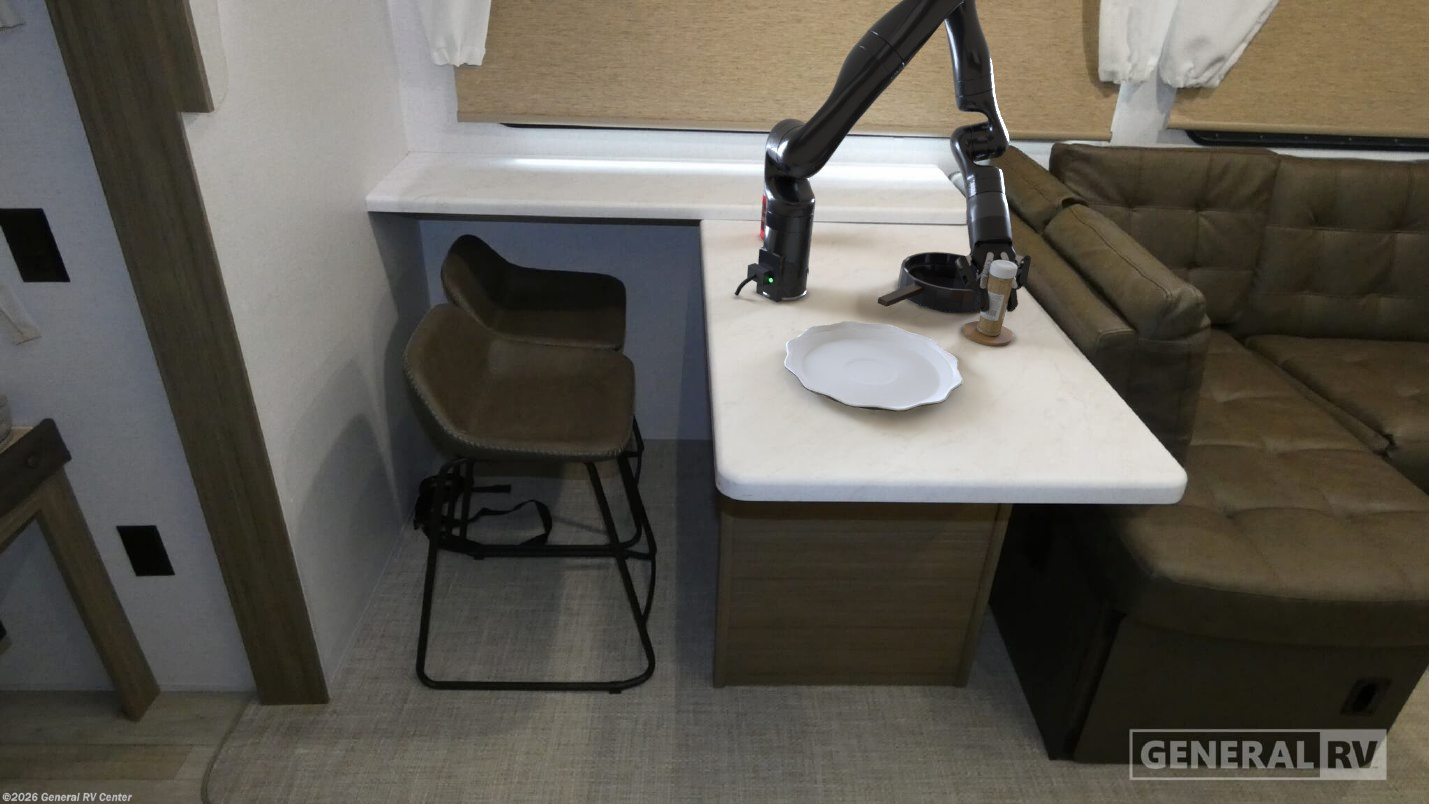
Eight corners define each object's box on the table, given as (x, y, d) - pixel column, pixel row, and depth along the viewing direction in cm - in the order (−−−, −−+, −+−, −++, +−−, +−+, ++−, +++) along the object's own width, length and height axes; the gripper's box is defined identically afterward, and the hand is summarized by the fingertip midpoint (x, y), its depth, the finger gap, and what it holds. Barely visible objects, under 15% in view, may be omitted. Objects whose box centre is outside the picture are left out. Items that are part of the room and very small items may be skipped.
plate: (754, 347, 147) (755, 335, 146) (894, 323, 157) (896, 311, 156) (839, 436, 125) (841, 423, 123) (996, 401, 135) (999, 388, 134)
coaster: (994, 350, 150) (995, 348, 149) (953, 332, 155) (953, 329, 155) (1022, 336, 155) (1022, 334, 155) (980, 319, 160) (981, 316, 160)
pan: (956, 322, 159) (962, 298, 156) (878, 288, 171) (882, 265, 168) (1012, 297, 170) (1018, 274, 167) (935, 266, 182) (939, 245, 179)
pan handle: (913, 288, 164) (914, 283, 163) (922, 292, 162) (923, 287, 161) (877, 303, 157) (878, 297, 157) (886, 307, 156) (887, 301, 155)
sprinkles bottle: (1006, 333, 154) (1023, 266, 147) (989, 339, 152) (1006, 270, 145) (986, 323, 158) (1003, 257, 150) (970, 329, 155) (985, 261, 148)
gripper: (958, 213, 150) (968, 304, 146) (1034, 213, 151) (1046, 303, 147) (943, 231, 157) (952, 317, 153) (1016, 231, 158) (1027, 317, 155)
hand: (998, 310), depth 150 cm, fingers closed on sprinkles bottle, 4 cm apart
